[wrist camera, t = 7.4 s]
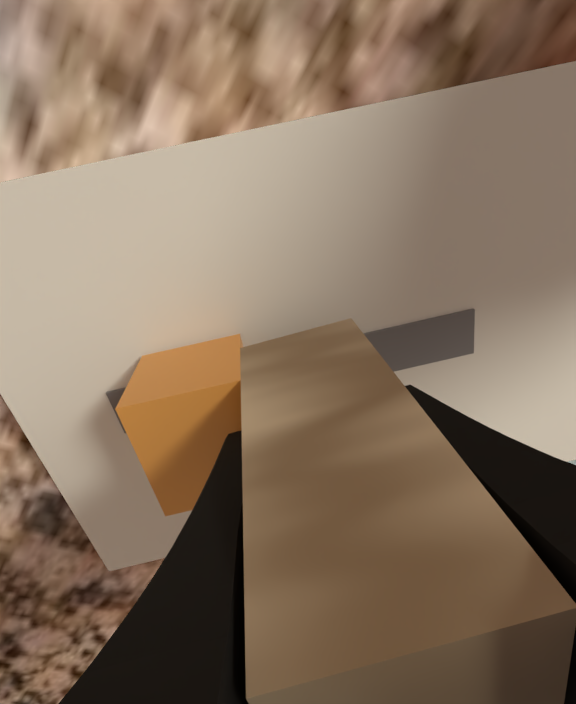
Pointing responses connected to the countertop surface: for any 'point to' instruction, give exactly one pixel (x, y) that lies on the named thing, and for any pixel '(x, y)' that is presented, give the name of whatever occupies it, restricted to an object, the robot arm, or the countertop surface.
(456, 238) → the switch panel
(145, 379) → the block
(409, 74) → the countertop surface
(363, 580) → the tall stone pillar
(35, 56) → the countertop surface
